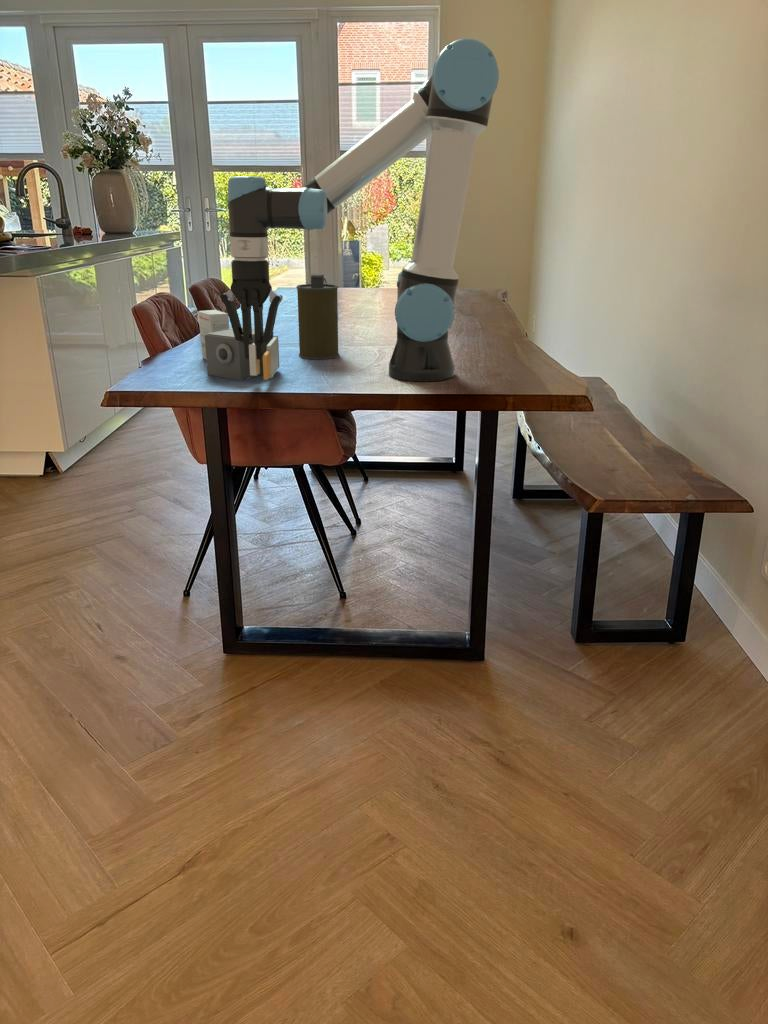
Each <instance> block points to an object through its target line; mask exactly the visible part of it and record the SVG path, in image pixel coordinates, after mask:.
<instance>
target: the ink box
mask: <svg viewBox="0 0 768 1024" xmlns="http://www.w3.org/2000/svg"><path fill="white" fill-rule="evenodd" d="M197 315H198V324H199V326H198V327H199V335H200V344H201V345H200V346H201V354H202V359H203V358H204V359H203V360H205V359H206V347H205V335H207V333H213V332H218V331H223V330H228V329H230V319H229V316H228V312H224V311H221V310H218V309H210V310H209V309H207V310H198V311H197ZM206 361H207V359H206Z"/></svg>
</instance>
